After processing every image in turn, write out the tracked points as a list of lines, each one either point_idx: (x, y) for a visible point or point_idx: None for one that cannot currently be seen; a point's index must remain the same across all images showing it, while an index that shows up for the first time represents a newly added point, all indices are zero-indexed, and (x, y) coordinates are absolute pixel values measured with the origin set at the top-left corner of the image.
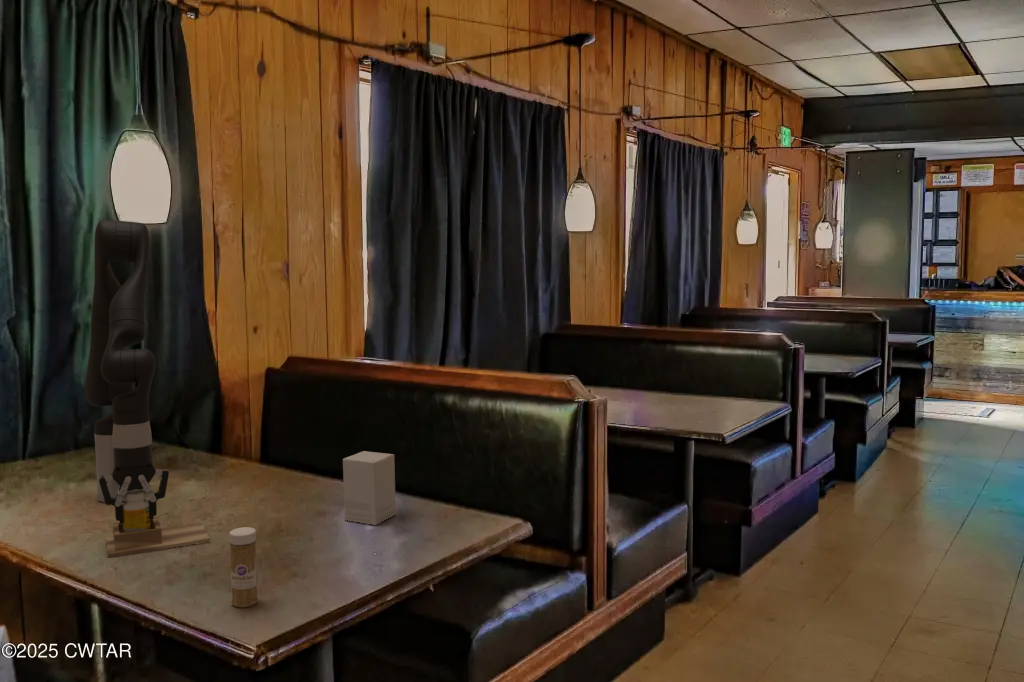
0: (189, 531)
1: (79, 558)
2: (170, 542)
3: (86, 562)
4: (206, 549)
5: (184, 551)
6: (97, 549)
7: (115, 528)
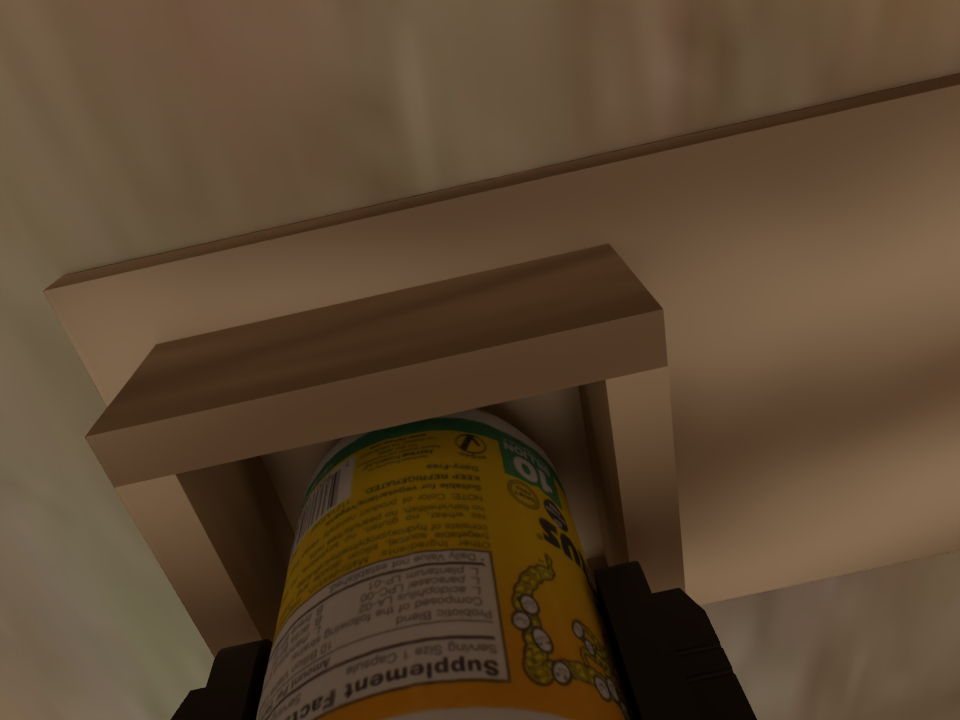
0: (907, 331)
1: (50, 650)
2: (711, 563)
3: (147, 713)
4: (919, 628)
5: (780, 638)
6: (105, 505)
7: (212, 615)
